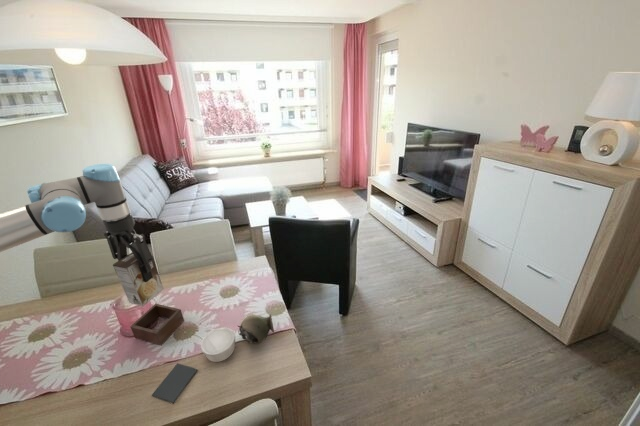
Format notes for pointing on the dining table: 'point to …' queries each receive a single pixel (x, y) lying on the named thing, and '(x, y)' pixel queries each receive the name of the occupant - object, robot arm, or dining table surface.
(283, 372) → the dining table surface
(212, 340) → the ramekin
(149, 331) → the holder
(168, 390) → the mat
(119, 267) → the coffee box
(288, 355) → the dining table surface
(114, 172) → the robot arm
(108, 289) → the dining table surface
